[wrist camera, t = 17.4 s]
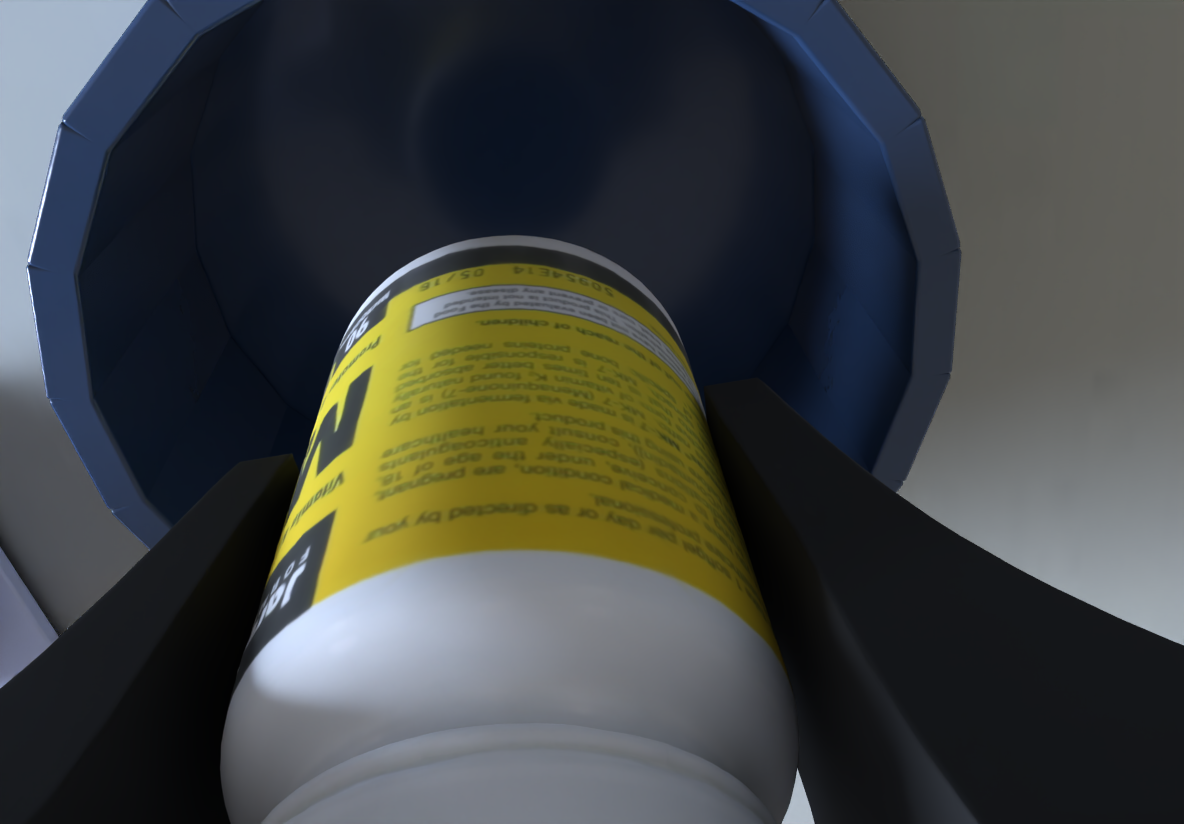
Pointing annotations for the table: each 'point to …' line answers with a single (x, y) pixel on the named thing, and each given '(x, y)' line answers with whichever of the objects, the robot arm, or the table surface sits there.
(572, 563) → the supplement bottle
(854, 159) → the tin
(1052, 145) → the table surface
